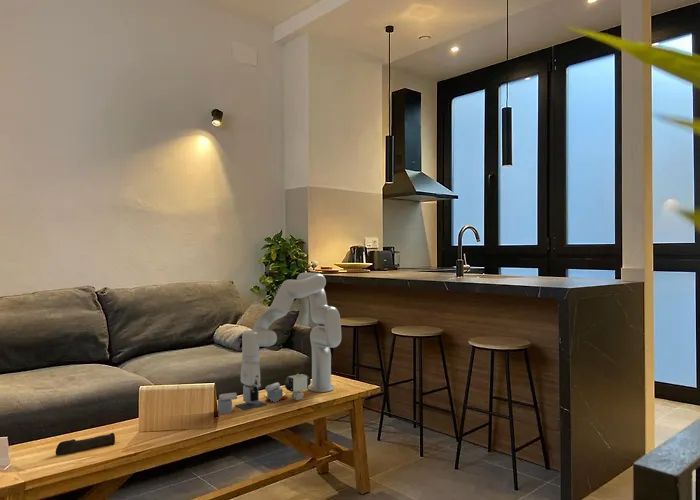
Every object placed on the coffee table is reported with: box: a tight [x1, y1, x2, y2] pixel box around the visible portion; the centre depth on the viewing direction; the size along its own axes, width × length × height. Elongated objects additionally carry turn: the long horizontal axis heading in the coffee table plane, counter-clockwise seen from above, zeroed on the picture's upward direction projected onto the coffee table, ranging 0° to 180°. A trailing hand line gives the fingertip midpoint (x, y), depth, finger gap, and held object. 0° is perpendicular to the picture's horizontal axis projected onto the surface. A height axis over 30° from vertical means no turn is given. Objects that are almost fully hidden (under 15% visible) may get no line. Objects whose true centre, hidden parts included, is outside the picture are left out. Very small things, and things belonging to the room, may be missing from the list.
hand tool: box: [55, 432, 116, 456], centre depth 187 cm, size 19×4×5 cm, turn 126°
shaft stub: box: [217, 392, 238, 415], centre depth 230 cm, size 8×5×8 cm, turn 117°
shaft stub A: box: [265, 382, 284, 403], centre depth 245 cm, size 8×5×8 cm, turn 147°
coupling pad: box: [234, 400, 268, 411], centre depth 238 cm, size 12×8×1 cm, turn 132°
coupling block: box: [242, 383, 260, 403], centre depth 238 cm, size 5×5×8 cm
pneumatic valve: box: [284, 373, 312, 401], centre depth 248 cm, size 6×12×12 cm, turn 127°
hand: (251, 398), depth 238 cm, fingers closed on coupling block, 5 cm apart
